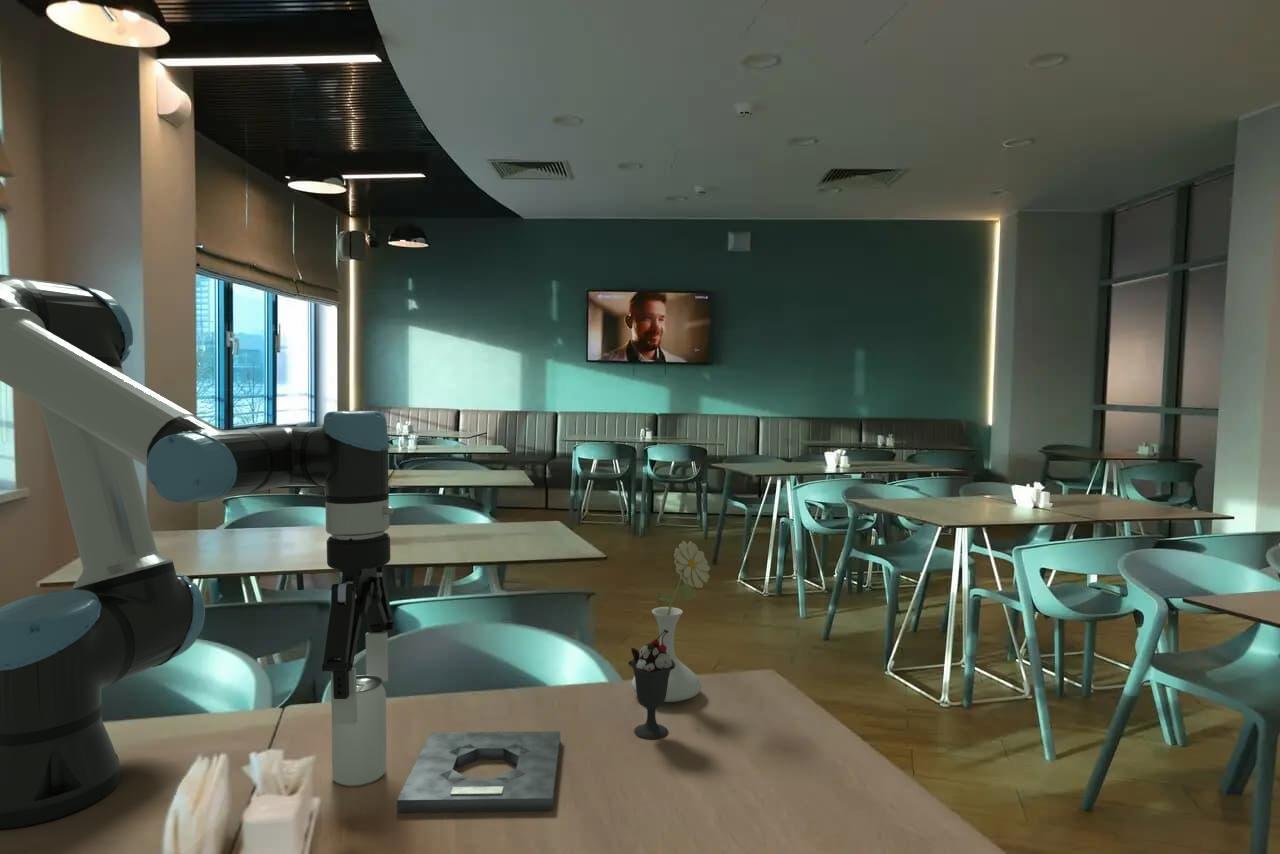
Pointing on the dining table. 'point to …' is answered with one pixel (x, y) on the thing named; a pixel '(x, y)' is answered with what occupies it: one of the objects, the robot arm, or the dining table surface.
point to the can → (362, 737)
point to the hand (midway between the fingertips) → (362, 700)
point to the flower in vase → (693, 573)
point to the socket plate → (513, 791)
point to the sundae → (651, 684)
